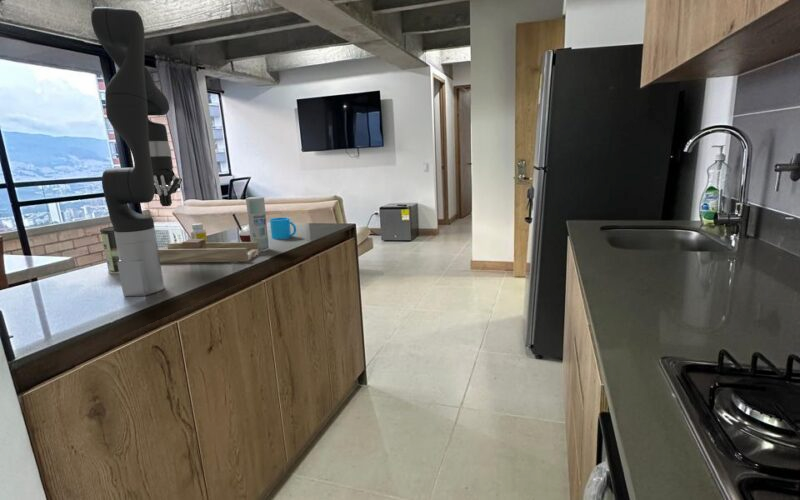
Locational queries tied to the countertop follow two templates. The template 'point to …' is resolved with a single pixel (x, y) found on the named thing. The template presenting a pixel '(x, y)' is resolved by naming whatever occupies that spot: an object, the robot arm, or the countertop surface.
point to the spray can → (257, 222)
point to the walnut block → (194, 244)
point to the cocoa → (243, 232)
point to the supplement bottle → (198, 232)
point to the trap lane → (210, 252)
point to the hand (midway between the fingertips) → (166, 205)
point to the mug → (281, 228)
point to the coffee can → (110, 249)
